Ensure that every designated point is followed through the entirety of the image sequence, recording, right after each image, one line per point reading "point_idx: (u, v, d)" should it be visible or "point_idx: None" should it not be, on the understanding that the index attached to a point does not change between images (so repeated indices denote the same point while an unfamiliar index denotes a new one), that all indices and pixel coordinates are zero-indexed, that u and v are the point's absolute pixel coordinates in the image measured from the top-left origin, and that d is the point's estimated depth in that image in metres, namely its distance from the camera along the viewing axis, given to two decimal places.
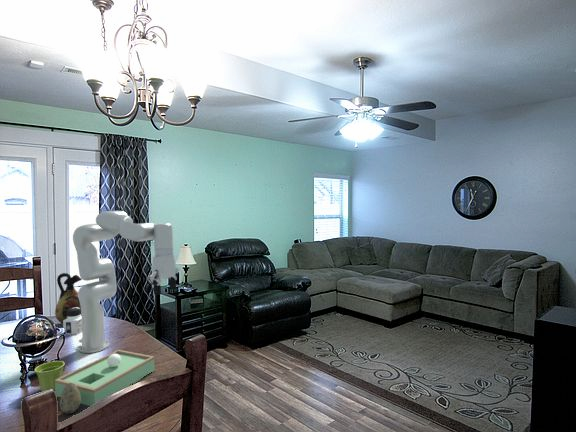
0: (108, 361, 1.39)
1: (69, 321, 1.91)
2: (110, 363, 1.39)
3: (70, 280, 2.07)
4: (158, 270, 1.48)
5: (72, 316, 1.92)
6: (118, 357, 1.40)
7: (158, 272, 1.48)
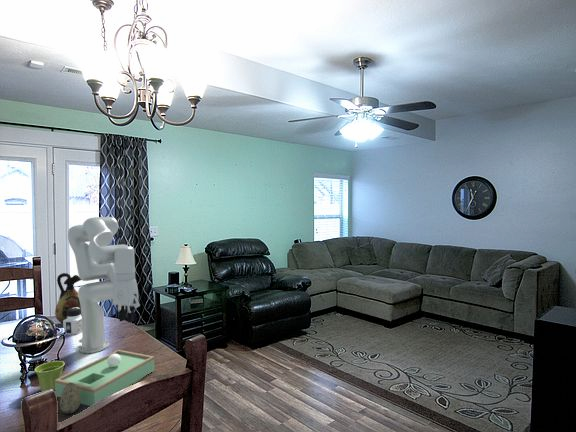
0: (108, 361, 1.39)
1: (69, 321, 1.91)
2: (110, 363, 1.39)
3: (70, 280, 2.07)
4: (137, 293, 1.45)
5: (72, 316, 1.92)
6: (118, 357, 1.40)
7: (137, 295, 1.45)
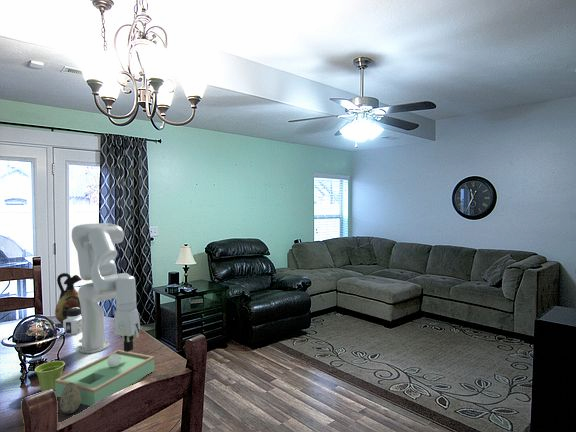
0: (108, 361, 1.39)
1: (69, 321, 1.91)
2: (110, 363, 1.39)
3: (70, 280, 2.07)
4: (138, 323, 1.46)
5: (72, 316, 1.92)
6: (118, 357, 1.40)
7: (138, 325, 1.46)
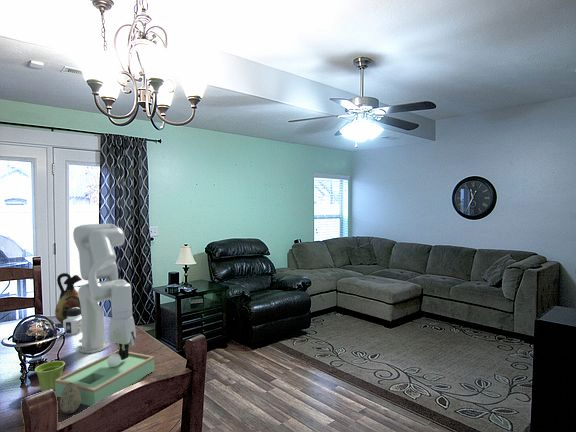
0: (108, 361, 1.39)
1: (69, 321, 1.91)
2: (110, 363, 1.39)
3: (70, 280, 2.07)
4: (134, 331, 1.44)
5: (72, 316, 1.92)
6: (118, 357, 1.40)
7: (134, 333, 1.44)
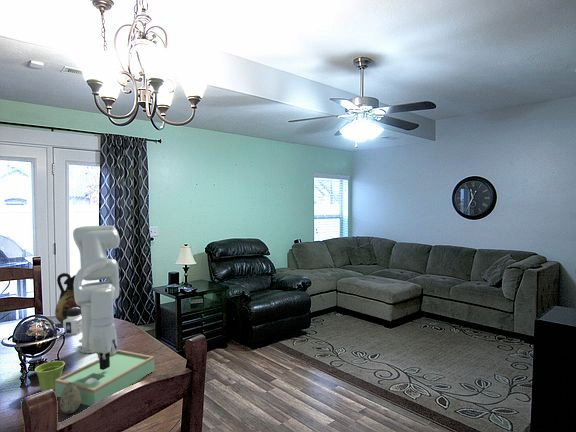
0: (91, 378, 1.32)
1: (69, 321, 1.91)
2: (91, 379, 1.31)
3: (70, 280, 2.07)
4: (115, 339, 1.36)
5: (72, 316, 1.92)
6: None
7: (115, 341, 1.36)
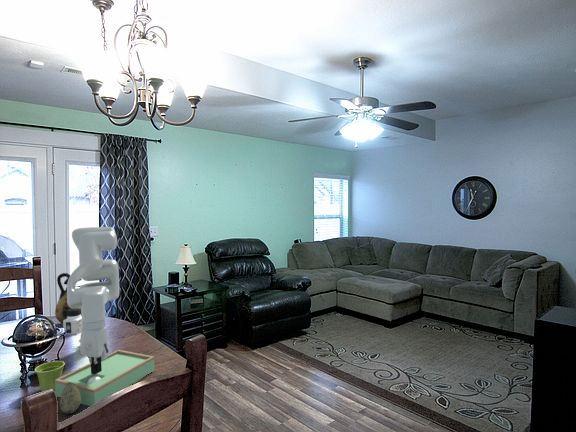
0: None
1: (69, 321, 1.91)
2: None
3: None
4: (107, 343, 1.32)
5: (72, 316, 1.92)
6: None
7: (107, 345, 1.32)
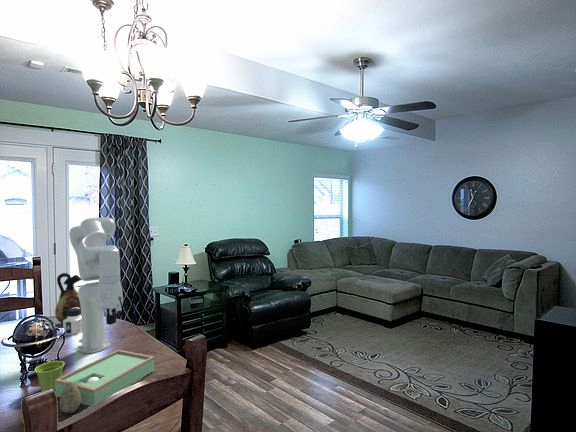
0: None
1: (69, 321, 1.91)
2: (95, 377, 1.32)
3: (70, 280, 2.07)
4: (121, 296, 1.43)
5: (72, 316, 1.92)
6: None
7: (121, 298, 1.44)
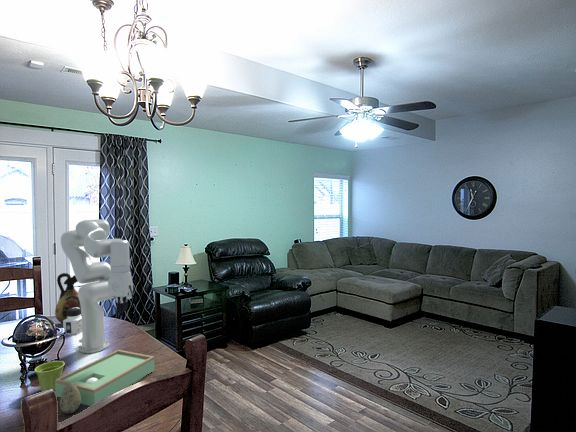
0: None
1: (69, 321, 1.91)
2: (93, 378, 1.31)
3: (70, 280, 2.07)
4: (131, 285, 1.52)
5: (72, 316, 1.92)
6: None
7: (131, 287, 1.52)
